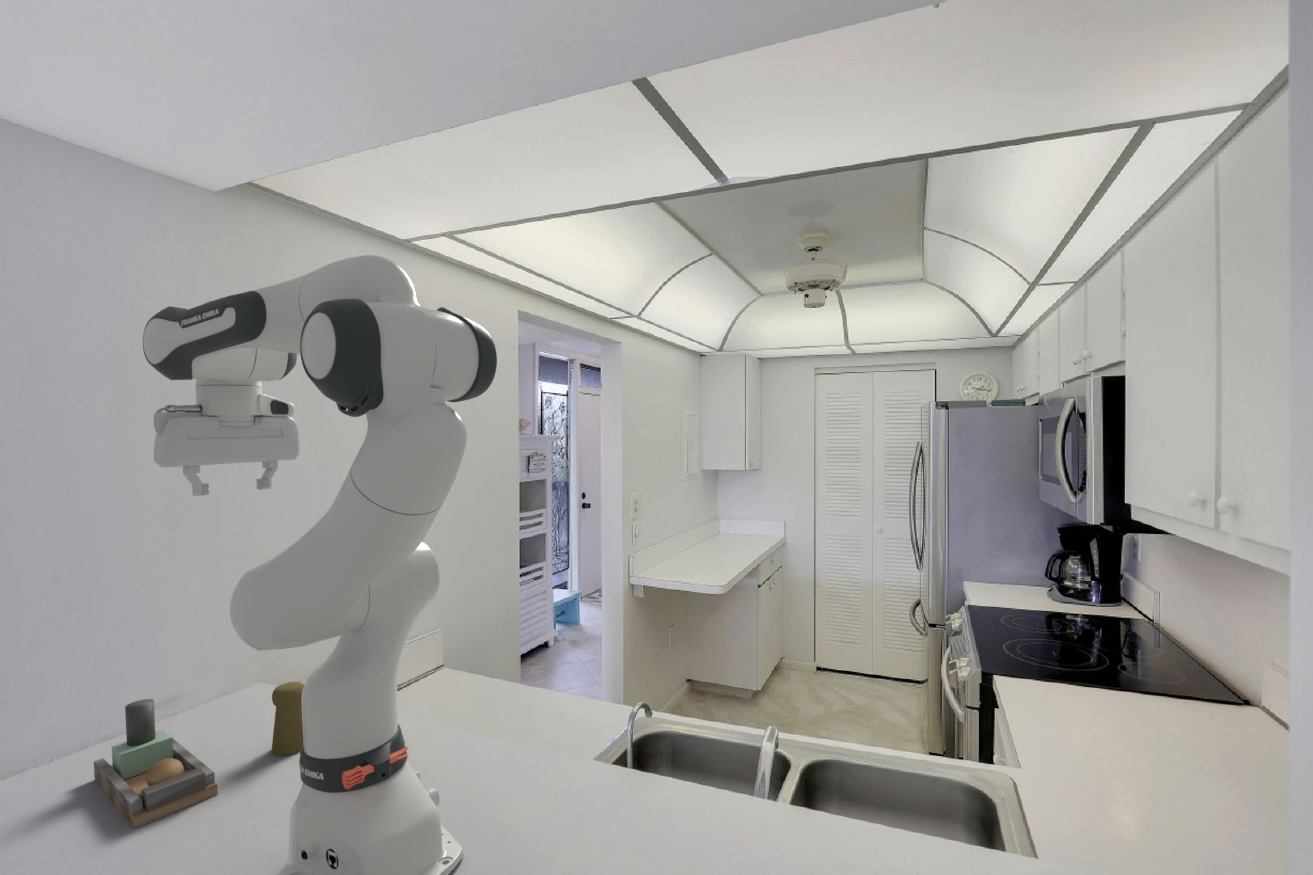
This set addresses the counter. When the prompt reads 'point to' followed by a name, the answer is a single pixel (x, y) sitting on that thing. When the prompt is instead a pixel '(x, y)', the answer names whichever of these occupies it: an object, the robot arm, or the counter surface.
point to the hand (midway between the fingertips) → (233, 492)
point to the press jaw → (140, 741)
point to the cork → (287, 719)
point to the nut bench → (159, 812)
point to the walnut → (164, 771)
